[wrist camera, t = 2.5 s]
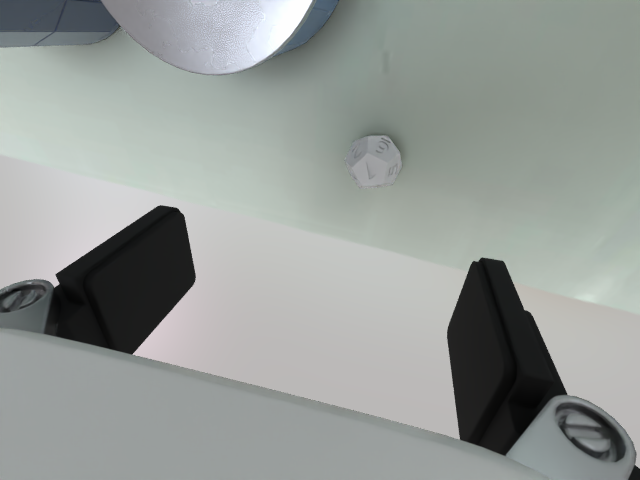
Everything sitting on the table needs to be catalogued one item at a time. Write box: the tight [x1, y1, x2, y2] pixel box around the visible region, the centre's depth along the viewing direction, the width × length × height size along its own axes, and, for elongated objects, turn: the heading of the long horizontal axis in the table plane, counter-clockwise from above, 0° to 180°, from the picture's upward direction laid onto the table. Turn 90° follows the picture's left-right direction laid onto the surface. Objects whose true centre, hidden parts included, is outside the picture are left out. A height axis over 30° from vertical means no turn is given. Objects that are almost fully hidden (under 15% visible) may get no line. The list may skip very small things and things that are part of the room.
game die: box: [344, 136, 402, 189], centre depth 21 cm, size 4×4×3 cm
